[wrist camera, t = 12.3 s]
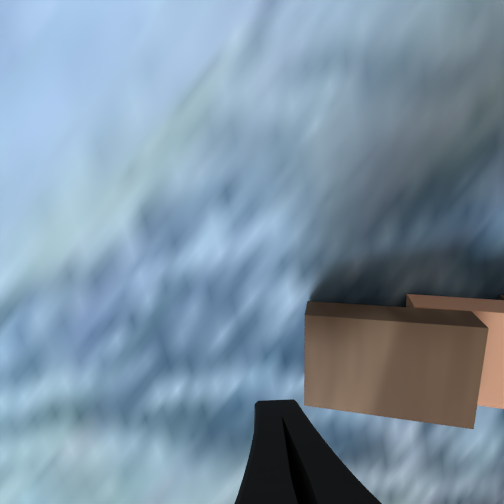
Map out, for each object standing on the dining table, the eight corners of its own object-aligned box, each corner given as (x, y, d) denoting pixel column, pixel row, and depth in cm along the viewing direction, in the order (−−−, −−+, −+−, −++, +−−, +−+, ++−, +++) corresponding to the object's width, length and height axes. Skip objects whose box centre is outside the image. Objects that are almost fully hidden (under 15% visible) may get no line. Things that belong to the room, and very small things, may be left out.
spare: (407, 293, 16) (578, 305, 14) (398, 375, 17) (557, 395, 15) (414, 306, 14) (607, 320, 13) (405, 395, 15) (582, 419, 14)
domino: (307, 301, 15) (471, 311, 14) (306, 384, 16) (459, 402, 15) (304, 315, 14) (488, 328, 12) (304, 405, 15) (473, 429, 13)
